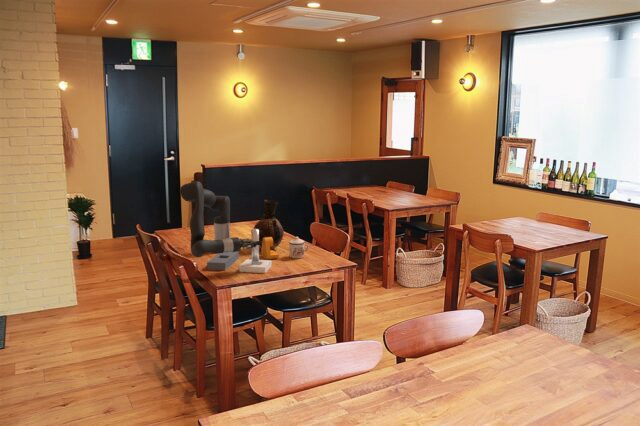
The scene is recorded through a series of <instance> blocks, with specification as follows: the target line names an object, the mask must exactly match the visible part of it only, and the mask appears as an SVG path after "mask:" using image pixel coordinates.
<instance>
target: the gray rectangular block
mask: <svg viewBox="0 0 640 426" xmlns="http://www.w3.org/2000/svg"><path fill="white" fill-rule="evenodd" d="M239 252H240V251H239ZM239 252H230V253H218V254H215V255H214V256H213V257H212V258H210V260H208V261H207V263H206V264H207V265H206V267H207V270H211V271H212V270H213V271H226V270H228V269H229V267H231V266H232V265H233V264H235V262H237V261H238V260H239V258H240V256H239V254H240V253H239Z"/></svg>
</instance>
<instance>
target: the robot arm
mask: <svg viewBox="0 0 640 426" xmlns="http://www.w3.org/2000/svg"><path fill="white" fill-rule="evenodd" d="M179 194H180V196H181V198H182V199H183V200H184V201H186V202H191V203H195V207H194V210H193V212H192V214H191V217H190V220H189V230H190V252H191V254H192V255H193V257H195V258H200V257H202V256H204V255H205V254H207V253H211V254H213V255H217V254H219V253H230V252H240V251H241V250H242V248H243V249H248V250H249V249H251V248H254V247H256V246H257V245H262V241H251V238H239V237H238V236H237V237H231V229H230V226H231V225H230V224H231V223H230V219H231V200H230V199H231V198H230V197H229V196H227V195H216V194H215V193H214V192H213V191H211V190H209V189H208V188H207V189H206V188H204V186H203V183H201V182H200V181H199V180H198V181H193V182H189V183H185V184H183V185H181V186H180V189H179ZM204 207H206V208H208V209H210V210H212V211H214V212H222V213H221V214H220V215H219V216H216V217H214V218H213V232H214V233H213V236H214V240H212V239H204V238H205V235H206V234H205V232H206V230H205V221H204V209H205V208H204ZM253 244H254V245H253Z"/></svg>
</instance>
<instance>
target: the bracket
mask: <svg viewBox="0 0 640 426" xmlns="http://www.w3.org/2000/svg"><path fill="white" fill-rule="evenodd" d="M270 246H273V238H272V237H266V238H263V241H262V248H261V251H260V252H261V253H260V254H261V256H262V257H263V258H264V260H271V259H279V257H280V255H279V253H278V252H276V251H275V250H274V249H270Z"/></svg>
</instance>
